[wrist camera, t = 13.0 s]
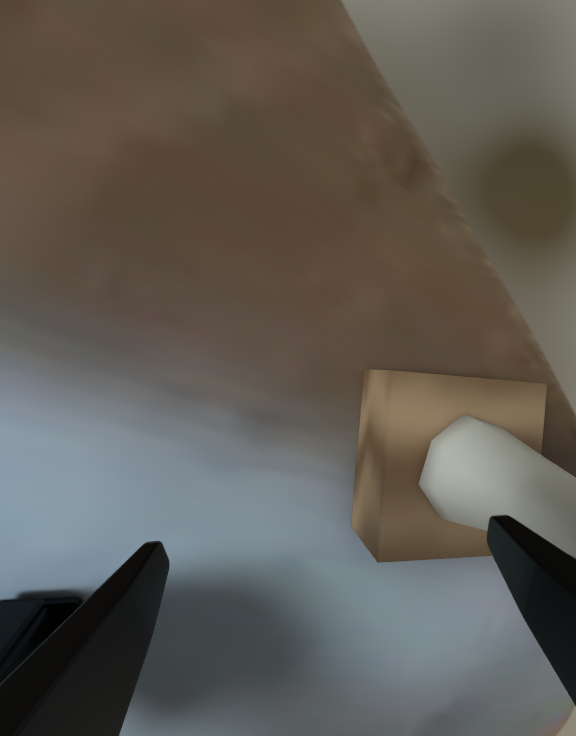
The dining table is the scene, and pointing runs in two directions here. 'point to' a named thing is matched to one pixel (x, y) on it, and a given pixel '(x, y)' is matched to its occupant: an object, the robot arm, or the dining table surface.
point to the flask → (498, 482)
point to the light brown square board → (409, 451)
